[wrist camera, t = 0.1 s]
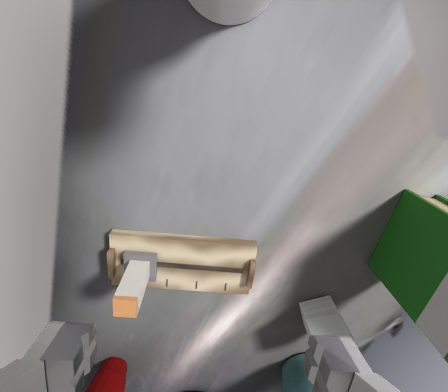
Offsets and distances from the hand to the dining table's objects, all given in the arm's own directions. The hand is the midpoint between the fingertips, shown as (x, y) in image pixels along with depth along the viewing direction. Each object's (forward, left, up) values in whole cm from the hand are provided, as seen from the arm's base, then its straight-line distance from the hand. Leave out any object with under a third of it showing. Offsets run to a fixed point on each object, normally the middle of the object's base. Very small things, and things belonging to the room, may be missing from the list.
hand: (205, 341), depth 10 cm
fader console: (+26, -3, -39) cm, 47 cm away
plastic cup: (+59, -18, -39) cm, 73 cm away
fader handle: (+26, -11, -36) cm, 46 cm away
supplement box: (+37, +28, -39) cm, 61 cm away
